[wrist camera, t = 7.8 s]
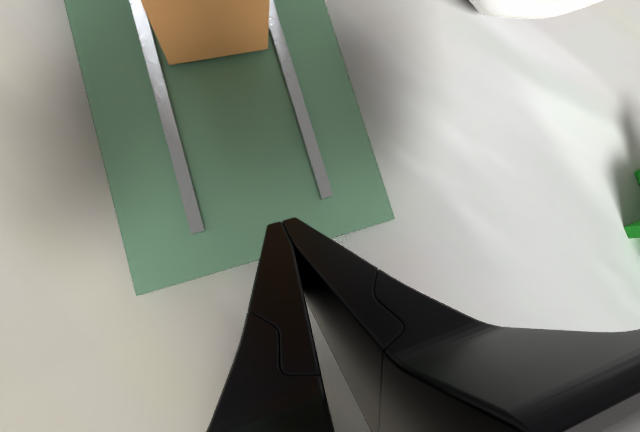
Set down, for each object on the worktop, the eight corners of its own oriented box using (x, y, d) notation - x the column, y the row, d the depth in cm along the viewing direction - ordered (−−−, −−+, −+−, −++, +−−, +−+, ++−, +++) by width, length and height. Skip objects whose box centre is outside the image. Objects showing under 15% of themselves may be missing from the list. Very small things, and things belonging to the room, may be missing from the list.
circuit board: (390, 220, 18) (394, 218, 18) (141, 294, 15) (136, 296, 15) (279, -124, 20) (279, -136, 20) (40, -113, 17) (33, -126, 17)
